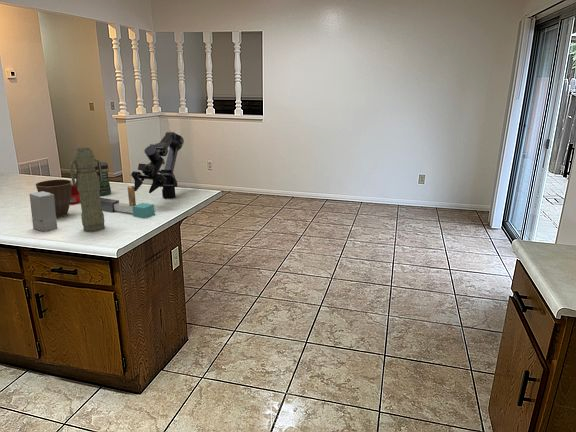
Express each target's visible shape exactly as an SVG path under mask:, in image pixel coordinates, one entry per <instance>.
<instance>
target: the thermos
mask: <svg viewBox="0 0 576 432" xmlns="http://www.w3.org/2000/svg"><path fill="white" fill-rule="evenodd" d="M101 162H102V161H100V160H99V159H98V158H95V154H94V152H93V150H92V148H89V147H80V148H77V149H75V151H74V158H73V160H70V163H69V169H70V177H71V181H72V183H73V186H77V190H78V192H79V195H80V202H81V203H80V207H81V213H80V216H81V224H82V227H83V228H82V230H83V231H84V232H87V233H88V232H89V233H90V232H92V233H94V232H99V231H103V230H105V228H106V225H105V222H106V221H105V215H104V211H102V209H101V201H100V198H101V196H100V193H99V190H100V183H101V182H102V181H103V177H102V170H101ZM95 163H98V171H99V177H98V175H97V173H96V169H95V167H96V165H95ZM74 165H75V168H76V176H75V172H74V171H75V170H74ZM75 181H76V183H75Z"/></svg>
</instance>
